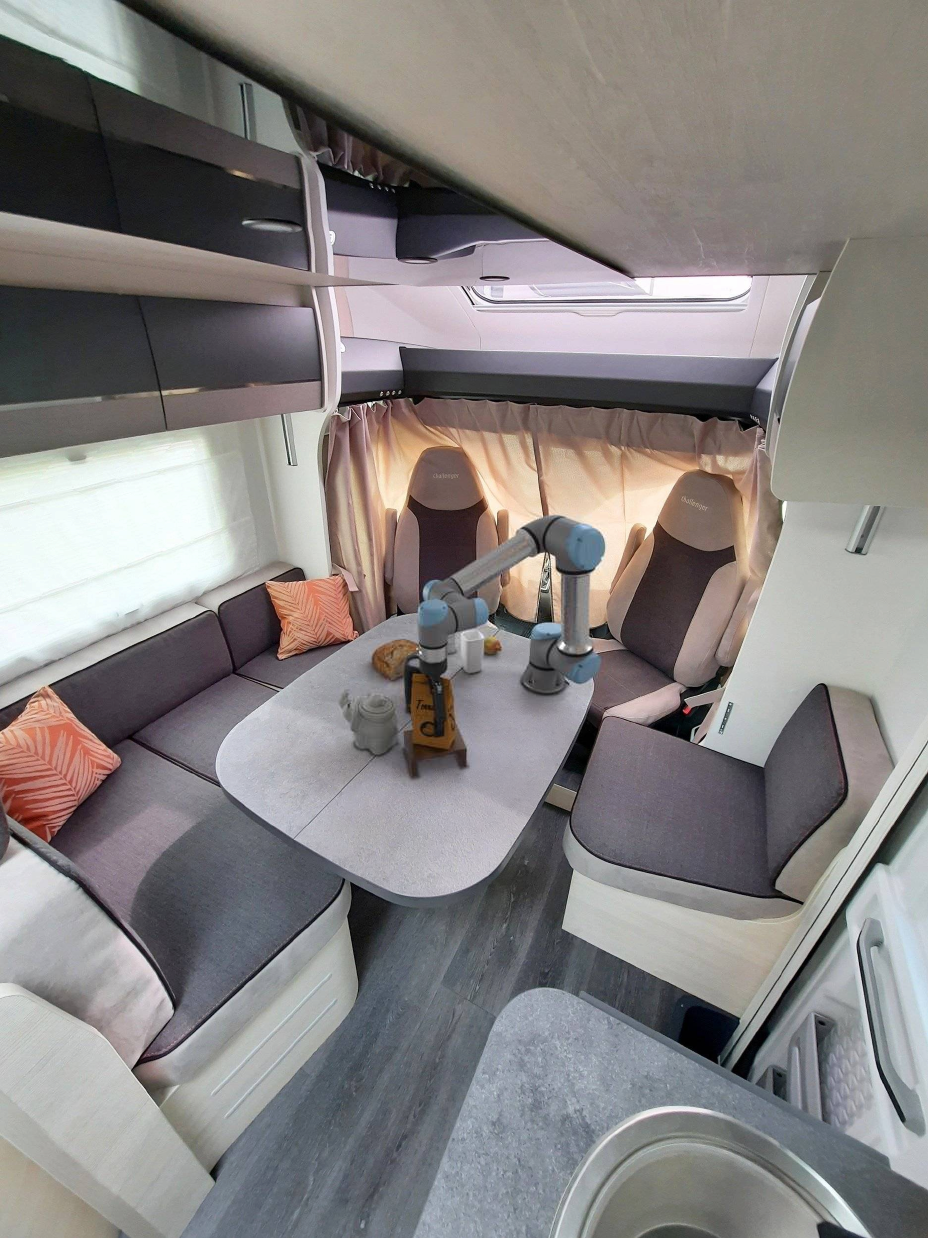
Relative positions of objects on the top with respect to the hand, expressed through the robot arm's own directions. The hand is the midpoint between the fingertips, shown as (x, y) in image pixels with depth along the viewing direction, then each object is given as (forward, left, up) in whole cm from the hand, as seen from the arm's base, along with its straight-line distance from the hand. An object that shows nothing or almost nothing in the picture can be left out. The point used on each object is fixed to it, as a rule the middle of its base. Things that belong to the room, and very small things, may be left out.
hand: (434, 722), depth 144 cm
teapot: (+21, -4, -13) cm, 25 cm away
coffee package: (0, 0, -6) cm, 6 cm away
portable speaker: (+10, -21, -13) cm, 27 cm away
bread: (+24, -48, -13) cm, 55 cm away
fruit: (-10, -63, -13) cm, 65 cm away
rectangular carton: (+10, -62, -13) cm, 64 cm away
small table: (0, 0, -13) cm, 13 cm away
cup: (-4, -49, -13) cm, 51 cm away
